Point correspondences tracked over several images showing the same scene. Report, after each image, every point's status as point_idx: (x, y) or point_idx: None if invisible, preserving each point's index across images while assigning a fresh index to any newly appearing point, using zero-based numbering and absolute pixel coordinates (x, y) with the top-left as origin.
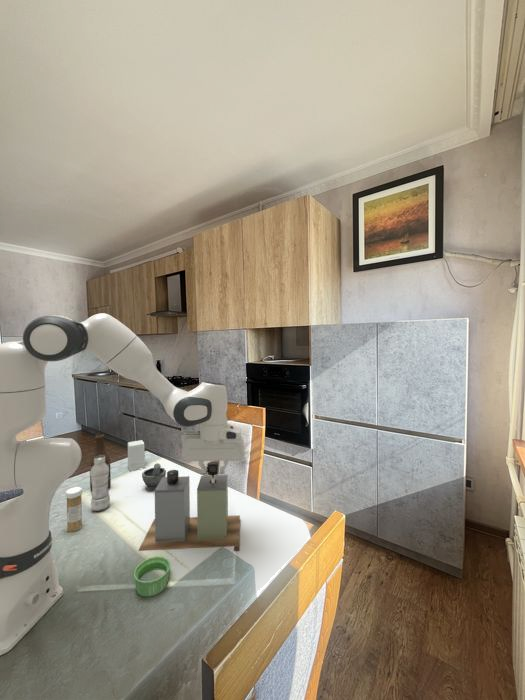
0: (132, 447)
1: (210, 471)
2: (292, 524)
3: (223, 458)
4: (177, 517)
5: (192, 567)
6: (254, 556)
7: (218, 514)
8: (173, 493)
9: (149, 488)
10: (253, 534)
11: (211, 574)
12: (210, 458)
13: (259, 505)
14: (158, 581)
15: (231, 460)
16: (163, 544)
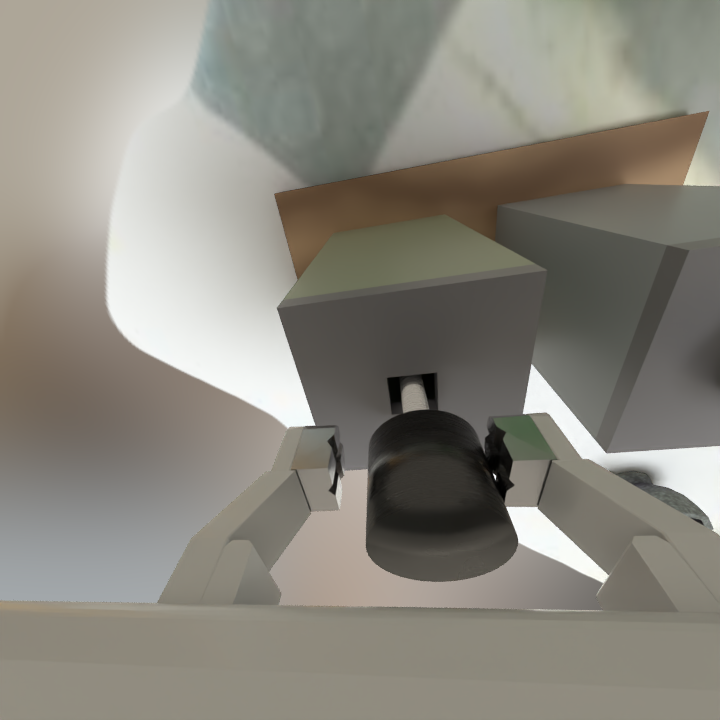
0: None
1: (449, 440)
2: (153, 343)
3: (170, 679)
4: (586, 210)
5: (439, 58)
6: (214, 164)
7: (357, 248)
8: None
9: (645, 478)
10: (257, 287)
11: (348, 16)
12: (526, 700)
13: (281, 420)
14: None
15: (58, 606)
16: (588, 170)
